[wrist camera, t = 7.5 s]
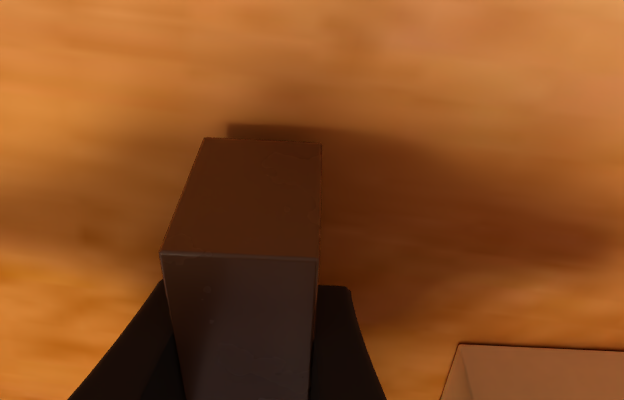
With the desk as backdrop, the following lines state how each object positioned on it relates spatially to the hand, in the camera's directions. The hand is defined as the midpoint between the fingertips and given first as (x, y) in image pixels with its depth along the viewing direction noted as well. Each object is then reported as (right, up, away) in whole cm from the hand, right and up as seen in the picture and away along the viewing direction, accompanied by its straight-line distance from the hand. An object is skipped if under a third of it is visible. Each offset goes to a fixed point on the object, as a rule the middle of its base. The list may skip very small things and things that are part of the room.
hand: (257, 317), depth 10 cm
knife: (0, -3, +4) cm, 5 cm away
